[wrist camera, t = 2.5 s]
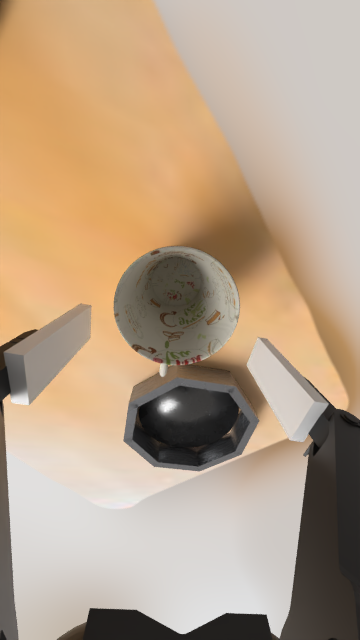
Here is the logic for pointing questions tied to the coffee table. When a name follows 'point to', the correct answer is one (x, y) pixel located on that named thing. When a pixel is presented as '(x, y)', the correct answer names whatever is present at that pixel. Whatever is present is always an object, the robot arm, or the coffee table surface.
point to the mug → (176, 306)
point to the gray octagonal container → (189, 418)
